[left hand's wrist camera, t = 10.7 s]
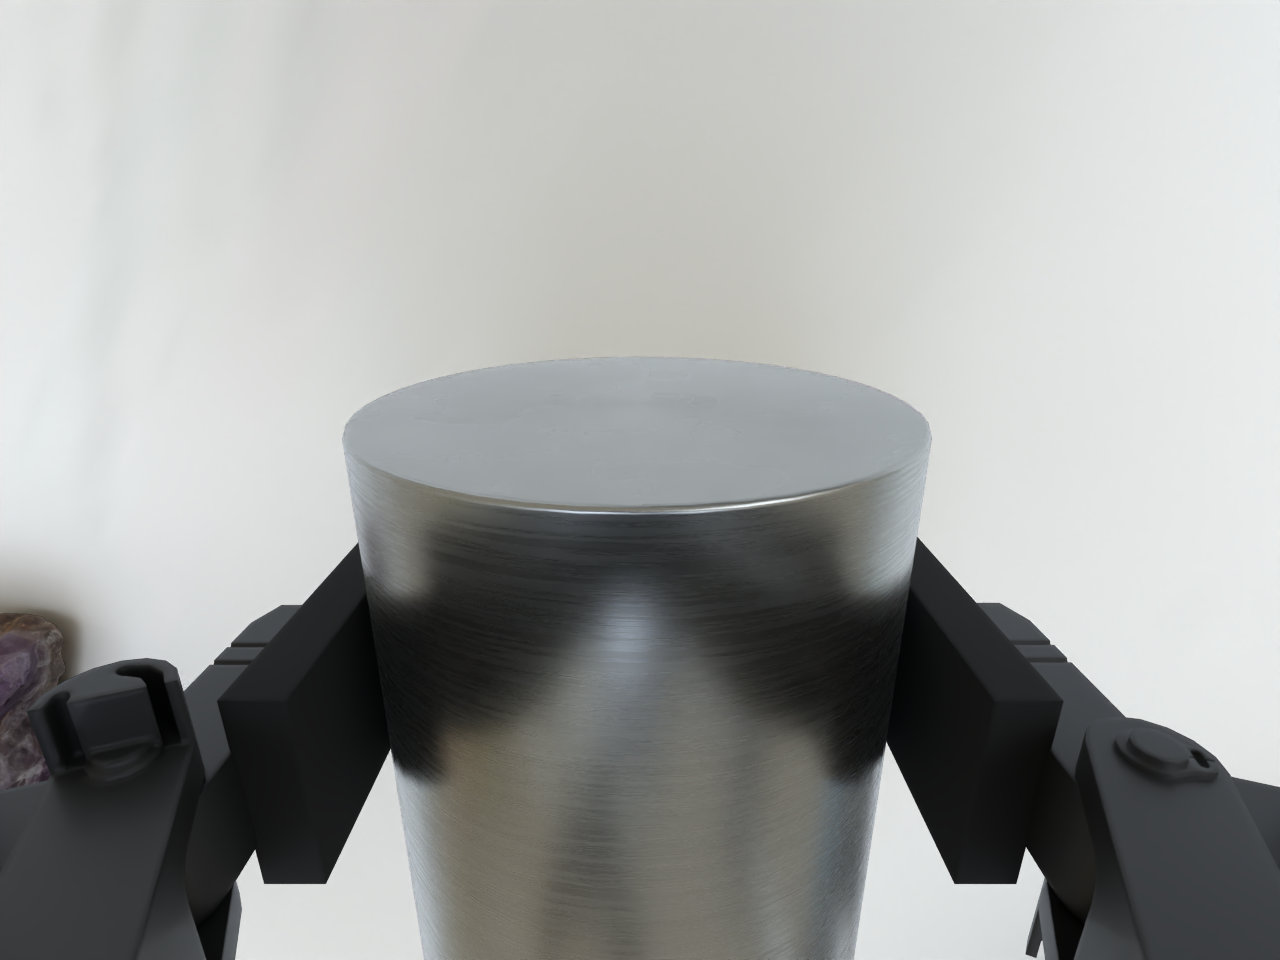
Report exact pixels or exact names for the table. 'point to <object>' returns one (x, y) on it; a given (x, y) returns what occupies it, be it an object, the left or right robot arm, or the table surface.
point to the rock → (25, 693)
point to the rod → (637, 650)
